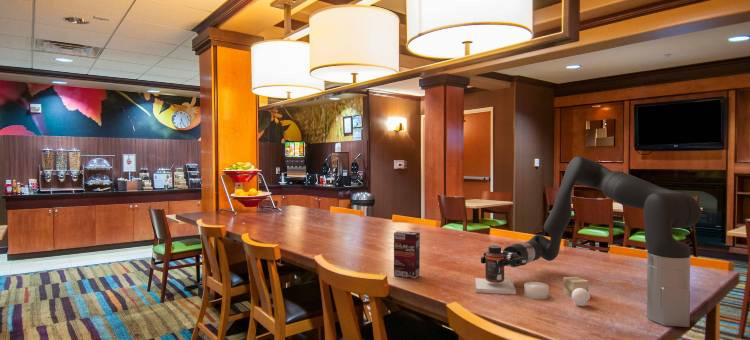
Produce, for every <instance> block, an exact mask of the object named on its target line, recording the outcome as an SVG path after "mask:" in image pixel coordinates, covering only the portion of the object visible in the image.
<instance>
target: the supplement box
mask: <svg viewBox="0 0 750 340" xmlns="http://www.w3.org/2000/svg"><path fill="white" fill-rule="evenodd" d="M420 233H421V232H419V231H418V232H417V231H405V230H404V231H403V230H397V231H395V232H393V276H394V277H399V276H402V278H407V277H411V278H410V279H414V278H415V279H417V278H418V277H419V276H420V268H421V267H420V262H421V261H420V256H421V255H420V251H421V249H420V248H421V245H420V244H421V241H420V240H421V235H420ZM416 277H417V278H416Z"/></svg>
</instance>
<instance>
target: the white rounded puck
mask: <svg viewBox="0 0 750 340" xmlns="http://www.w3.org/2000/svg"><path fill="white" fill-rule="evenodd" d="M523 284H524V289H523V291H524V293H523V295H524V297H526V298H529V299H532V300H547V299H549V297H550V296H549V291H550V290H549V285H548V284H547V283H544V282H540V281H526V282H524V283H523Z"/></svg>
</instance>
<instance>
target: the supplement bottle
mask: <svg viewBox="0 0 750 340" xmlns="http://www.w3.org/2000/svg"><path fill="white" fill-rule="evenodd" d="M488 251H489V252H488ZM488 251H486V252H487V253H486V252H485V253H486V256H485V263H484V266H485V270H484V271H485V279H486V280H487V281H489V282H493V283H500V282H503V281H504V280H505V266H504V267H498V260H501V259H504V254H503V253H502V252H501V251H502V246H500V245H495V244H494V245H489V246H488Z"/></svg>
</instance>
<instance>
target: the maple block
mask: <svg viewBox="0 0 750 340" xmlns="http://www.w3.org/2000/svg"><path fill="white" fill-rule="evenodd" d="M562 282H563V283H562V284H563V286H562V287H563V289H562V290H563V292H562V293H563V294H564V295H567V296H569V297H571V298H572V292H573V291H574V290H575V289H577V288H583V289H585V290H587V291H588V292H589V280H587V279H584V278H582V277H580V276H566V277H563V280H562Z"/></svg>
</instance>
